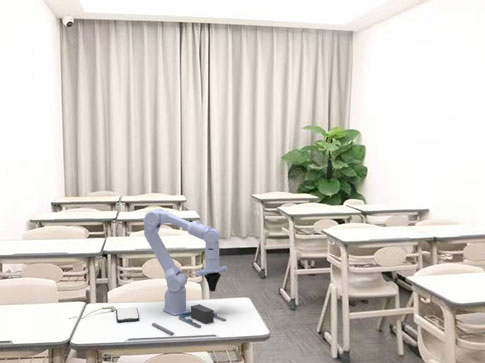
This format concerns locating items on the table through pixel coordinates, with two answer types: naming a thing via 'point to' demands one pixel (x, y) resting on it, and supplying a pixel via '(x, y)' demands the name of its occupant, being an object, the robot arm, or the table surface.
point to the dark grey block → (202, 314)
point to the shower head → (105, 308)
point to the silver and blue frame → (189, 321)
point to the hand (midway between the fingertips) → (212, 290)
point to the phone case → (127, 315)
